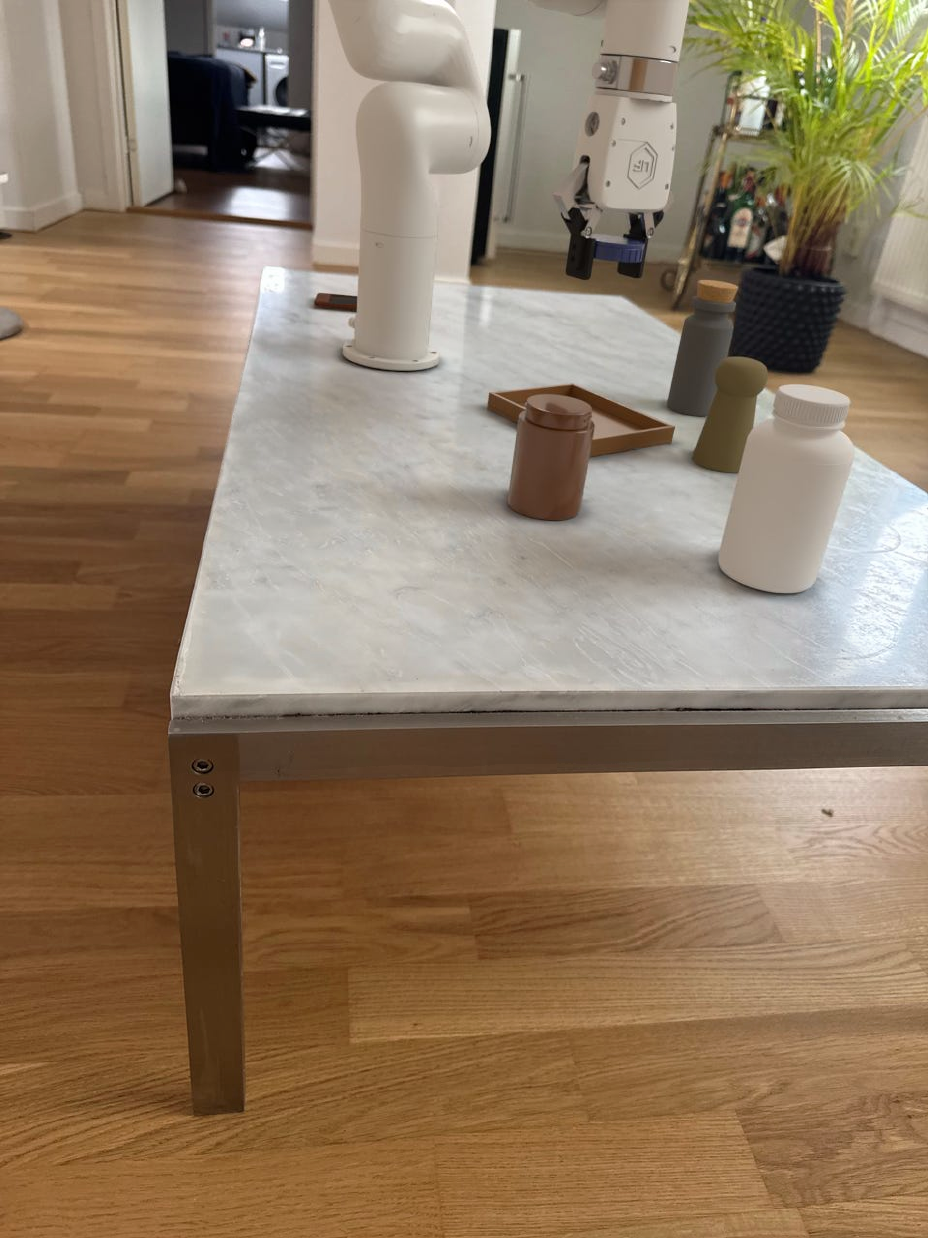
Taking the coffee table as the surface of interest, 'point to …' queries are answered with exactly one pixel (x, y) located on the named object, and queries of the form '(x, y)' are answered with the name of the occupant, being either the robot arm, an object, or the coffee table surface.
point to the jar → (551, 457)
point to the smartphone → (336, 301)
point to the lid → (618, 249)
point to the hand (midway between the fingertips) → (603, 275)
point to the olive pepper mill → (730, 414)
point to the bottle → (702, 348)
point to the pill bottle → (788, 491)
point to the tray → (593, 418)
